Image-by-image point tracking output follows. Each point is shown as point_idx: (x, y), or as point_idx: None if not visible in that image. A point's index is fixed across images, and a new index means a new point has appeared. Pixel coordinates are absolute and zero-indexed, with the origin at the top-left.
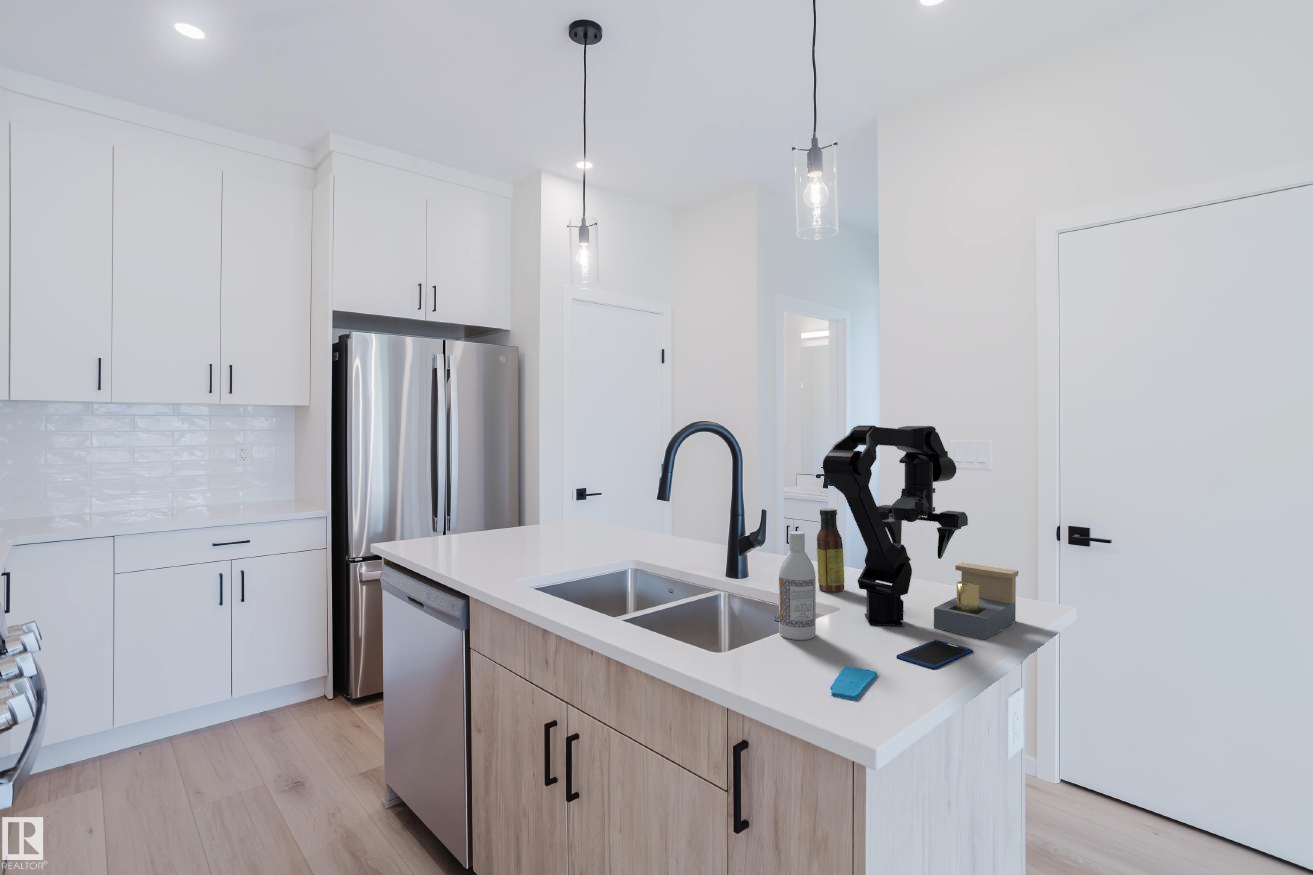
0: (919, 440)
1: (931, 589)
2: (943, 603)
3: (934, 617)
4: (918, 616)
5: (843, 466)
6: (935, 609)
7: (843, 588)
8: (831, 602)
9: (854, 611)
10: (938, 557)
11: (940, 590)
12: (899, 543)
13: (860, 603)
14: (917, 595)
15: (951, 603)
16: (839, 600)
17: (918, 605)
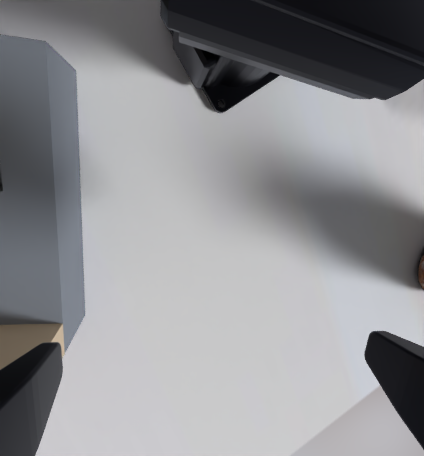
0: None
1: (235, 435)
2: (51, 148)
3: (60, 57)
4: (167, 171)
5: None
6: (40, 43)
7: (421, 273)
8: (417, 146)
9: (339, 95)
10: (49, 343)
11: (214, 442)
12: (421, 409)
13: (347, 191)
14: (245, 366)
15: (27, 171)
16: (403, 181)
17: (210, 281)
